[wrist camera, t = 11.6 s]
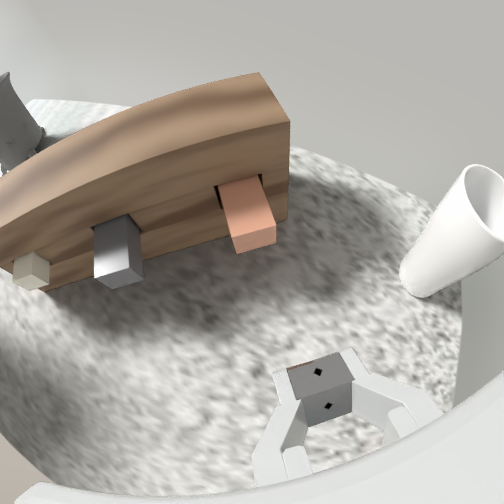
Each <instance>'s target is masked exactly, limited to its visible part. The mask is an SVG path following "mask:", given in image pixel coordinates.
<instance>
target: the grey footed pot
mask: <svg viewBox="0 0 504 504" xmlns="http://www.w3.org/2000/svg"><path fill="white" fill-rule="evenodd" d="M9 77H10V73H9V72H6V73H4V74H3V75H1V76H0V163H1V171H2V173H3V175H5V174H6V173H7V170H8V171H10V170H12V169H14V168H15V167H17V166H18V165H20V164H21V163H23V162H24V161H25V160H26V159H27V158H28V157H29V158H31V157H32V156H34V155H36V154H37V152H36V151H35V148H36V147H37V145H38V144H39V142H40V140H41V138H42V131H43V129H44V128H43V127H40V126H38V124H37V123H36V122H35V120H34V119H33V117H32V116H31V115H30V113H29V112H28V110H27V109H26V107H25V106H24V105H23V103H22V102H21V100H20V99H19V97H18V96H17V94H16V93H15V91H14V89H13V87H12V85H11V83H10V78H9ZM3 175H2V176H3Z"/></svg>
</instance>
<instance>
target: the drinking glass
mask: <svg viewBox="0 0 504 504" xmlns="http://www.w3.org/2000/svg"><path fill="white" fill-rule="evenodd" d="M503 254H504V179H503V178H502V177H501V176H500V175H499V174H498V173H496V172H495V171H493V170H492V169H490V168H488V167H486V166H483V165H479V164H473V165H469V166H467V167H466V168H465V169H464V170H463V172H462V173H461V174H460V175H459V177H458V178H457V179H456V180H455V182H454V183H453V184H452V186H451V187H450V189H449V190H448V191H447V193H446V194H445V195H444V197H443V199H442V200H441V202H440V203H439V205H438V206H437V208H436V210H435V211H434V213H433V215H432V216H431V218H430V220H429V221H428V223H427V225H426V226H425V228H424V229H423V231H422V233H421V234H420V236H419V237H418V239H417V240H416V242H415V243H414V245H413V246H412V248H411V249H410V251H409V252H408V253H407V254H406V255H405V256H404V258H403V259H402V261H401V263H400V267H399V276H400V280H401V283H402V285H403V286H404V288H405V289H406V290H407V291H408V292H409V293H410V294H412V295H413V296H416V297H420V298H424V297H428V296H431V295H432V294H434V293H435V292H437V291H439V290H441V289H443V288H445V287H447V286H449V285H451V284H453V283H455V282H457V281H459V280H461V279H463V278H465V277H467V276H469V275H471V274H473V273H475V272H477V271H479V270H481V269H483V268H484V267H486V266H488V265H489V264H491V263H492V262H494V261H495V260H497V259H498V258H499V257H501V256H502V255H503Z"/></svg>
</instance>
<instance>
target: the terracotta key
mask: <svg viewBox="0 0 504 504" xmlns="http://www.w3.org/2000/svg"><path fill="white" fill-rule="evenodd" d="M218 188H219V192H220V196H221V200H222V204H223V207H224V211H225V215H226V219H227V223H228V226H229V230H230V234H231V238H232V241H233V244H234V247H235V250H236V253H237V254H239V253H242V252H246V251H249V250H253V249H256V248H260V247H264V246H267V245H271V244H274V243H277V238H276V223H275V220H274V218H273V215H272V212H271V209H270V207H269V204H268V201H267V199H266V196H265V193H264V190H263V188H262V185H261V182H260V180H259V177H258V175H253V176H249V177H245V178H241V179H237V180H234V181H230V182H226V183H223V184H219V185H218Z"/></svg>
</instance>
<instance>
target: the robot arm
mask: <svg viewBox="0 0 504 504" xmlns="http://www.w3.org/2000/svg"><path fill="white" fill-rule="evenodd" d="M272 375H273V379H274V382H275V386H276V390H277V393H278V397H279V401H280V404H281V405H279V406H277V407H276V409H275V411H274V413H273V415H272V417H271V419H270V421H269V423H268V425H267V427H266V429H265V431H264V433H263V435H262V436H261V438H260V440H259V442H258V444H257V446H256V448H255V450H254V452H253V453H252V455H251V458H252V465H253V471H254V477H255V483H256V488H251V489H245V490H238V491H231V492H223V493H215V494H204V495H189V496H135V495H121V494H110V493H102V492H94V491H88V490H82V489H76V488H71V487H66V486H61V485H57V484H53V483H49V482H38V483H36V484H35V485H33V486H32V487H30V488H29V489H28V490H27V491H26V492H24V493H23V494H22V495H21V496H19V497H18V498H17V499H16V500H15V502H14V504H504V370H503V371H502V372H501V373H499V374H498V375H497V376H496V377H495V378H494V379H492V380H491V381H490V382H489V383H487V384H486V385H485V386H483V387H482V388H481V389H479V390H478V391H477V392H476V393H474V394H473V395H471V396H470V397H469V398H467V399H466V400H464V401H463V402H462V403H460V404H459V405H457V406H456V407H454V408H453V409H451V410H450V411H448V412H447V413H445V414H444V413H443V412H442V411H441V409H440V408H439V407H438V405H437V404H436V403H435V402H434V400H433V399H432V398H431V396H430V395H429V394H428V393H427V391H424V390H421V389H418V388H415V387H412V386H409V385H406V384H403V383H401V382H398V381H395V380H392V379H389V378H387V377H384V376H381V375H378V374H376V373H371V374H369V372H368V371H367V369H366V368H365V366H364V365H363V363H362V362H361V360H360V359H359V357H358V356H357V354H356V353H355V351H354V350H353V349H352V348H351V347H348V348H346V349H343V350H340V351H338V352H335V353H332V354H330V355H327V356H324V357H321V358H318V359H315V360H312V361H310V362H306V363H303V364H299V365H296V366H292V367H289V368H286V369H283V370H279V371H275V372H272ZM351 412H352V413H353V414H354V415H356V416H358V417H359V418H361V419H363V420H365V421H366V422H368V423H370V424H372V425H373V426H375V427H377V428H379V429H380V430H382V431H384V436H383V441H382V445H381V448H380V449H378V450H376V451H373V452H371V453H369V454H366V455H364V456H362V457H359V458H357V459H354V460H352V461H349V462H346V463H344V464H341V465H338V466H335V467H332V468H329V469H326V470H323V471H320V472H317V473H314V474H313V472H312V469H311V466H310V463H309V460H308V457H307V454H306V451H305V448H304V447H302V446H303V443H304V440H305V437H306V434H307V431H308V427H311V426H314V425H317V424H319V423H322V422H325V421H328V420H330V419H333V418H336V417H339V416H342V415H345V414H348V413H351Z"/></svg>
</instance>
